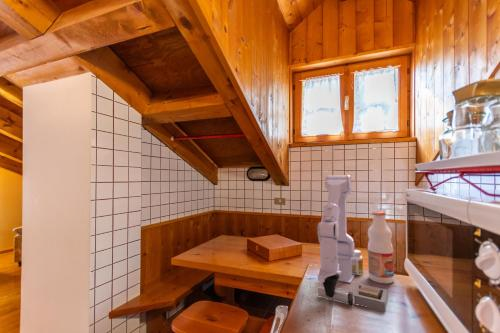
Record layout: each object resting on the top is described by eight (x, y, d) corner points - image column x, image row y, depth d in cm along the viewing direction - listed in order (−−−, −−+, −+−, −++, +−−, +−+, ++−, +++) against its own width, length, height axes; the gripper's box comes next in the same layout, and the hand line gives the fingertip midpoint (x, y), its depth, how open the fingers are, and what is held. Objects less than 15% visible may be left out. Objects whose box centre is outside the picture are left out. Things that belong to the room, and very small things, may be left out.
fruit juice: (370, 273, 111) (368, 209, 112) (395, 277, 106) (392, 211, 107) (367, 280, 103) (364, 212, 104) (393, 286, 98) (390, 214, 99)
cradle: (359, 292, 94) (359, 283, 94) (387, 298, 89) (387, 289, 89) (354, 304, 85) (354, 295, 85) (384, 312, 80) (384, 302, 80)
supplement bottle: (362, 271, 114) (361, 249, 114) (364, 275, 108) (363, 253, 109) (349, 270, 115) (348, 248, 115) (350, 274, 110) (350, 252, 110)
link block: (362, 296, 91) (362, 285, 91) (380, 301, 87) (380, 289, 87) (358, 302, 87) (358, 290, 87) (378, 307, 83) (377, 295, 83)
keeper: (353, 304, 85) (353, 292, 85) (352, 306, 83) (352, 294, 84) (319, 295, 91) (318, 284, 91) (317, 297, 90) (317, 286, 90)
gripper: (332, 264, 79) (333, 308, 78) (347, 253, 90) (348, 291, 89) (311, 260, 83) (312, 301, 83) (328, 249, 94) (329, 286, 94)
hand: (329, 296), depth 86 cm, fingers closed
